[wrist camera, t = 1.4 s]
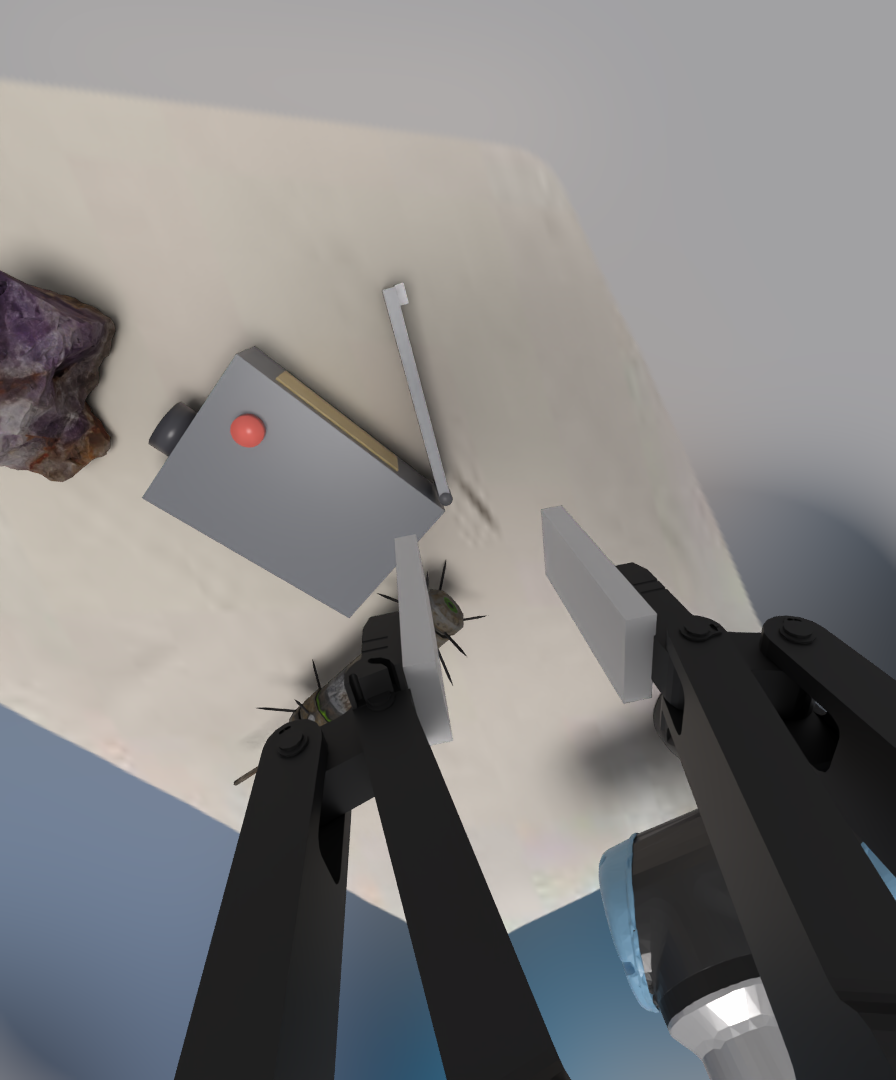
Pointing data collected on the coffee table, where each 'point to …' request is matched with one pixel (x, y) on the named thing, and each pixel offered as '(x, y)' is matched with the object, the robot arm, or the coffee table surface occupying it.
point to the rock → (49, 380)
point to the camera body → (290, 483)
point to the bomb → (333, 695)
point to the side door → (416, 387)
